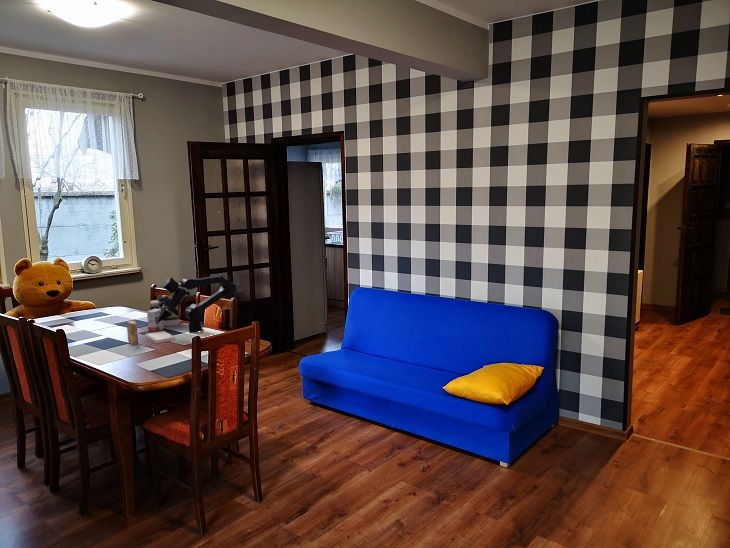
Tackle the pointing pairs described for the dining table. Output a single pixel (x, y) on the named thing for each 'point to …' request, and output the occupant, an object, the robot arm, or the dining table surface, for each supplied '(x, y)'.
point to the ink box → (154, 320)
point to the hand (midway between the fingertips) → (158, 321)
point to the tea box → (169, 320)
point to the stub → (132, 332)
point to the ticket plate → (160, 336)
